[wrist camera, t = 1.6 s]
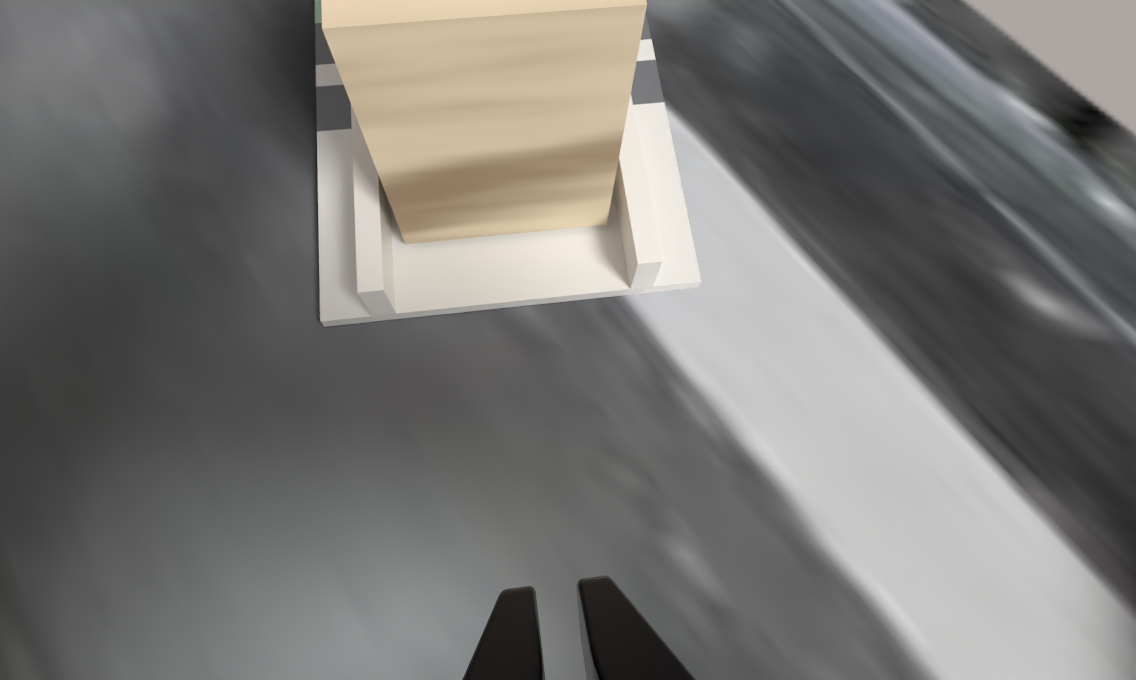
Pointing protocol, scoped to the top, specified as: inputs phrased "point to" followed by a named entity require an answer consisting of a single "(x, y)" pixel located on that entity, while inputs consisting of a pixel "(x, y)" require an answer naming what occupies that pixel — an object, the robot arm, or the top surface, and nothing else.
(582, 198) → the maple block
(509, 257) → the track
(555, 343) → the top surface
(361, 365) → the top surface
